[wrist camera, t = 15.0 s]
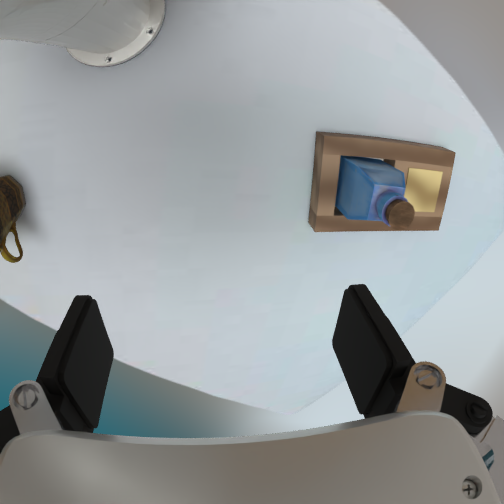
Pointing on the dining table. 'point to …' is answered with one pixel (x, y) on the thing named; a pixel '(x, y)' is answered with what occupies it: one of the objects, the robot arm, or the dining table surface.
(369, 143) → the frame
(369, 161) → the perfume bottle
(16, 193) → the ceramic cup
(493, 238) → the dining table surface
